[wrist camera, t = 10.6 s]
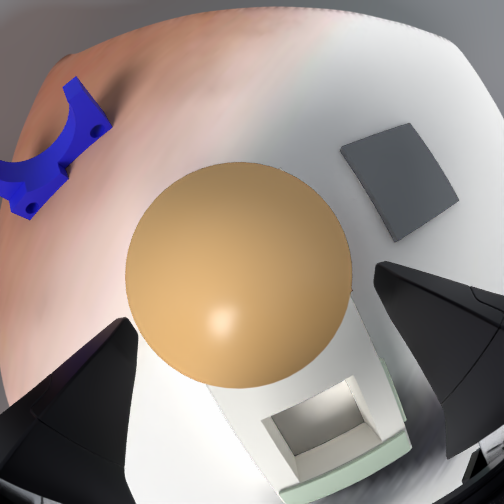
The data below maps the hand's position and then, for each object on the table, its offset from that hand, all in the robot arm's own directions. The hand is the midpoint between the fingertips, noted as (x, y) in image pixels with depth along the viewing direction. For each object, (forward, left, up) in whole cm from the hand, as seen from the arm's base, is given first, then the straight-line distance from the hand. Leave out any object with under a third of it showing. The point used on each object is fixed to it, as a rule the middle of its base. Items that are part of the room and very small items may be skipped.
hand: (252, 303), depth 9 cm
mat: (+3, -15, -8) cm, 17 cm away
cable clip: (+19, +11, -9) cm, 24 cm away
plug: (+1, 0, -8) cm, 9 cm away
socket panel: (-4, 0, -8) cm, 9 cm away
